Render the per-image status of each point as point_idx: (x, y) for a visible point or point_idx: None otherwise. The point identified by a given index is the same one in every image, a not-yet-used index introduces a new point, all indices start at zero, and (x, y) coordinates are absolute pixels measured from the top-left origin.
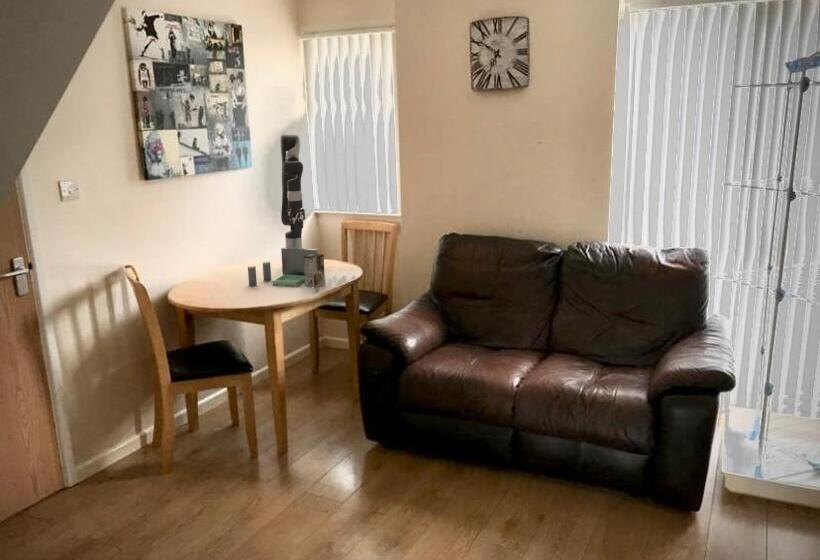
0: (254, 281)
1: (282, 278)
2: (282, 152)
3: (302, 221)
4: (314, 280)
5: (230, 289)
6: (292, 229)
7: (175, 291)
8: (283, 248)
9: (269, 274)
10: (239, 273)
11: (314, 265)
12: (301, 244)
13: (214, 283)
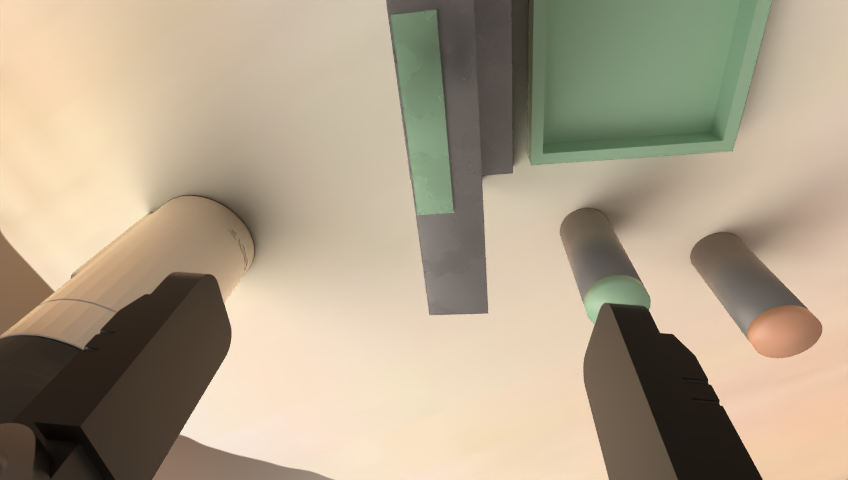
0: (749, 251)
1: (572, 144)
2: None
3: (47, 430)
4: None
5: (821, 314)
6: (683, 357)
7: (837, 477)
8: (482, 294)
9: (607, 232)
10: (469, 404)
11: None
12: (69, 287)
13: None
